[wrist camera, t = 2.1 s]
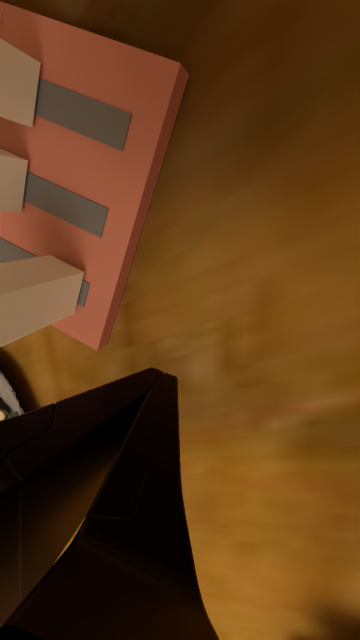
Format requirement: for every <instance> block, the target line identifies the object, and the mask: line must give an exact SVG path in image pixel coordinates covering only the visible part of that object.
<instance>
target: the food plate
mask: <svg viewBox="0 0 360 640" xmlns="http://www.w3.org/2000/svg"><path fill="white" fill-rule="evenodd" d="M13 391H14V390H13V388H12V387H11V386H10V384H9V382H8V381H7V379H6V378H5V375H4V374H3V373H2V371H0V421H1V420H4V419H8V418H11V417H14V416H18V415H21V414H24V412H23V411H22V408H21V407H20V406H19V402H18V401H19V400H17V399H16V395H15V392H14V393H13Z"/></svg>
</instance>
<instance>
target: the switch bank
mask: <svg viewBox="0 0 360 640" xmlns="http://www.w3.org/2000/svg"><path fill="white" fill-rule="evenodd" d="M0 39H2V40H4V41H5V42H7V43H9V44H10V45H12V46H14V47H15V48H17V49H19V50H20V51H22V52H24V53H25V54H27V55H29V56H30V57H32V58H33V59H35V60H37V61H38V62H40V63H41V64H40V72H39V79H38V87H37V95H36V103H35V110H34V118H33V126H32V127H29V126H26V125H23V124H20V123H17V122H14V121H11V120H8V119H5V118H2V117H0V148H1V149H3V150H6V151H8V152H10V153H12V154H15V155H17V156H19V157H21V158H23V159H26V160H28V165H27V173H26V180H25V188H24V196H23V204H22V211H21V212H0V263H4V262H10V261H16V260H22V259H28V258H34V257H41V256H47V255H52V256H54V257H55V258H57V259H59V260H61V261H63V262H65V263H67V264H69V265H71V266H73V267H75V268H77V269H79V270H81V271H83V272H84V275H83V279H82V284H81V288H80V292H79V296H78V301H77V305H76V309H75V313H74V314H73V315H70V316H68V317H66V318H64V319H62V320H59V321H57V322H55V323H53V324H51V326H53V327H55V328H57V329H59V330H60V331H62V332H64V333H66V334H68V335H69V336H71V337H73V338H75V339H77V340H78V341H80V342H82V343H84V344H86V345H87V346H89V347H91V348H93V349H95V350H96V351H98V350H99V349H101V348H102V347H103V346H105V345H106V344H108V340H109V337H110V334H111V330H112V327H113V324H114V321H115V317H116V314H117V311H118V307H119V304H120V301H121V298H122V294H123V291H124V288H125V284H126V281H127V278H128V274H129V271H130V268H131V265H132V261H133V258H134V255H135V251H136V248H137V245H138V242H139V238H140V235H141V232H142V228H143V225H144V222H145V219H146V215H147V212H148V209H149V205H150V202H151V199H152V195H153V192H154V189H155V186H156V182H157V179H158V176H159V172H160V169H161V166H162V163H163V159H164V156H165V153H166V149H167V146H168V143H169V140H170V136H171V133H172V130H173V126H174V123H175V120H176V116H177V113H178V110H179V107H180V103H181V100H182V97H183V93H184V90H185V87H186V84H187V80H188V77H189V74H188V72H187V71H186V70H185V68H184V67H183V66H182V64H181V63H179V62H176V61H173V60H170V59H168V58H165V57H162V56H159V55H156V54H153V53H150V52H147V51H144V50H141V49H138V48H135V47H132V46H130V45H127V44H124V43H121V42H118V41H115V40H112V39H109V38H106V37H103V36H100V35H97V34H95V33H92V32H89V31H86V30H83V29H80V28H77V27H74V26H71V25H68V24H65V23H62V22H59V21H57V20H54V19H51V18H48V17H45V16H42V15H39V14H36V13H33V12H30V11H27V10H24V9H22V8H19V7H16V6H13V5H10V4H7V3H4V2H1V1H0Z"/></svg>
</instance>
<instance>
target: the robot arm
mask: <svg viewBox="0 0 360 640" xmlns="http://www.w3.org/2000/svg"><path fill="white" fill-rule="evenodd" d="M85 517H86V518H85ZM84 518H85V519H84ZM83 520H84V521H83ZM82 521H83V523H82ZM81 523H82V525H81V527H80V529H79V531H78V532H77V534H76V536H75V537H74V539H73V541H72V542H71V544H70V545H69V547H68V548H67V549H66V550H65V552H64V553H63V554H62V555H61V556H60V557H59V555H60V554H61V552H62V551H63V549H64V548H65V546H66V545H67V543H68V542H69V540H70V539H71V537H72V536H73V534H74V533H75V531H76V530H77V528H78V527H79V526H80V524H81ZM58 557H59V559H58V560H57V558H58ZM56 560H57V561H56ZM55 561H56V562H55ZM53 564H54V565H53ZM0 640H219V638H218V636H217V634H216V632H215V630H214V628H213V626H212V624H211V622H210V619H209V617H208V615H207V612H206V610H205V607H204V604H203V601H202V597H201V593H200V589H199V585H198V580H197V575H196V570H195V565H194V559H193V554H192V548H191V543H190V537H189V532H188V526H187V520H186V515H185V508H184V501H183V495H182V484H181V468H180V441H179V409H178V379H177V377H176V376H173V375H170V374H168V373H164V372H163V371H160V370H158V369H155V368H148V369H145V370H143V371H140V372H137V373H135V374H132V375H129V376H126V377H124V378H121V379H118V380H115V381H113V382H110V383H107V384H105V385H102V386H99V387H96V388H94V389H91V390H88V391H85V392H83V393H80V394H77V395H75V396H72V397H69V398H66V399H64V400H61V401H58V402H56V403H55V404H54V403H52V404H50V405H47V406H44V407H41V408H39V409H36V410H33V411H30V412H27V413H24V414H21V415H18V416H14V417H11V418H8V419H4V420H1V421H0Z"/></svg>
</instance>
